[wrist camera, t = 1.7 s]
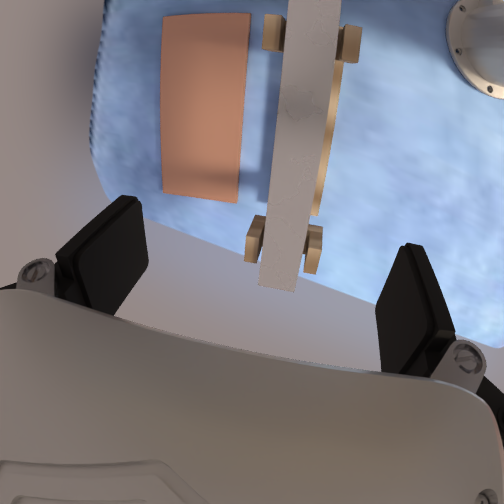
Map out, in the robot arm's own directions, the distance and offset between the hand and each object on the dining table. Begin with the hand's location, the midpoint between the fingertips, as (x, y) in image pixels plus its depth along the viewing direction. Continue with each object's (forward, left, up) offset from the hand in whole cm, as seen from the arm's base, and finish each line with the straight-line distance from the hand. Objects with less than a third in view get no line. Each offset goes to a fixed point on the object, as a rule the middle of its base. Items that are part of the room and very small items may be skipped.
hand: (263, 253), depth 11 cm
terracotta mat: (0, -12, -25) cm, 28 cm away
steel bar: (0, 0, -13) cm, 13 cm away
